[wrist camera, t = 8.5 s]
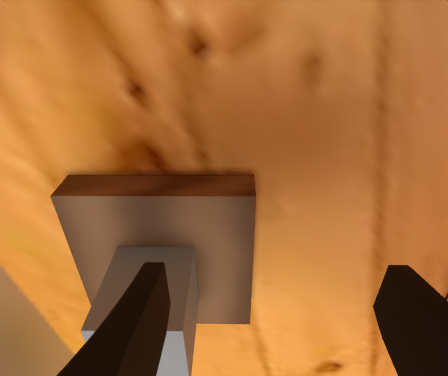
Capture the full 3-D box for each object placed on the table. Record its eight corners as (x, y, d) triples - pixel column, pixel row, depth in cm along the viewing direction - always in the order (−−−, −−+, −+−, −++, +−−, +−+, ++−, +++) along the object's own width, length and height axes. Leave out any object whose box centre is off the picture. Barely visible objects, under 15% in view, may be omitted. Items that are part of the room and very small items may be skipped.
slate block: (194, 246, 21) (182, 331, 16) (198, 298, 23) (190, 385, 18) (117, 247, 21) (80, 330, 16) (130, 298, 23) (102, 384, 18)
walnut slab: (253, 170, 21) (255, 196, 18) (248, 292, 27) (250, 324, 25) (72, 170, 21) (50, 196, 19) (109, 291, 28) (97, 322, 25)
